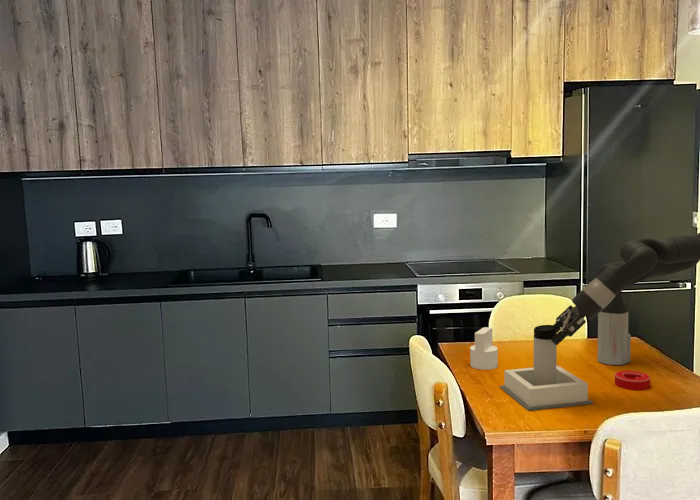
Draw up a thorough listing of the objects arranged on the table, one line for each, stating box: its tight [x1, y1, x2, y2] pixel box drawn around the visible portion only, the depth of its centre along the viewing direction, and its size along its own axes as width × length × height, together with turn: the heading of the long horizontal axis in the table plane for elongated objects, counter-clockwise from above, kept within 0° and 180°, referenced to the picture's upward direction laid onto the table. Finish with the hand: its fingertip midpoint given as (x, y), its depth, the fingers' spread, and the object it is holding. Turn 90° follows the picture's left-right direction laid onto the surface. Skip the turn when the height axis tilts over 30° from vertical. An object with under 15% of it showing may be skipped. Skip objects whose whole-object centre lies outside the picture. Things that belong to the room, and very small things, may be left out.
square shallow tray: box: [499, 364, 594, 412], centre depth 180 cm, size 19×19×6 cm
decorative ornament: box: [614, 370, 651, 391], centre depth 186 cm, size 10×10×3 cm
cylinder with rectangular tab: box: [469, 326, 499, 371], centre depth 209 cm, size 9×9×12 cm
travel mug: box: [533, 324, 558, 386], centre depth 179 cm, size 6×7×20 cm
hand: (551, 338), depth 177 cm, fingers open, 8 cm apart
